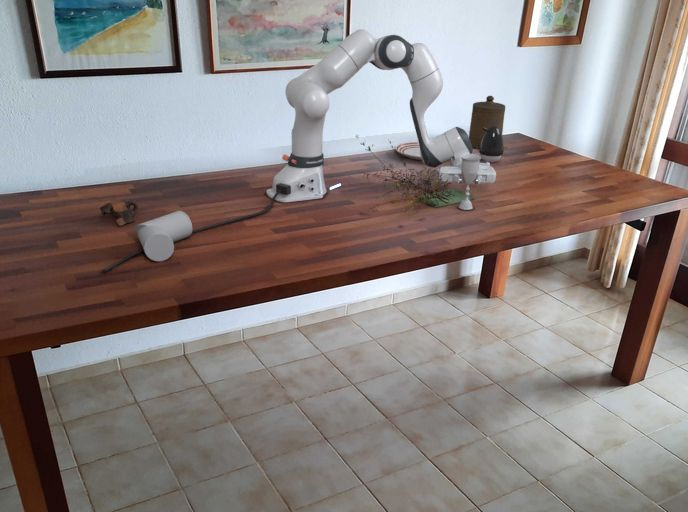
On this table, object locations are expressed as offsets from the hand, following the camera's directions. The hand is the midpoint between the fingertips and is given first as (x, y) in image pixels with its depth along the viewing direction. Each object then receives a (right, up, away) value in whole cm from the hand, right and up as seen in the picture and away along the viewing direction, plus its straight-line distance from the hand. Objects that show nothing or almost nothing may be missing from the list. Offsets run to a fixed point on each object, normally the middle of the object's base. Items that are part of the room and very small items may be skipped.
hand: (469, 181), depth 243 cm
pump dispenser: (+18, +23, +58) cm, 65 cm away
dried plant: (-24, -15, -7) cm, 29 cm away
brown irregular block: (-117, -16, -13) cm, 118 cm away
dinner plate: (-9, +26, +62) cm, 68 cm away
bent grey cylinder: (-97, -27, -31) cm, 105 cm away
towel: (-7, -3, +13) cm, 15 cm away
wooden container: (+20, +36, +80) cm, 90 cm away
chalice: (0, -8, +6) cm, 10 cm away
